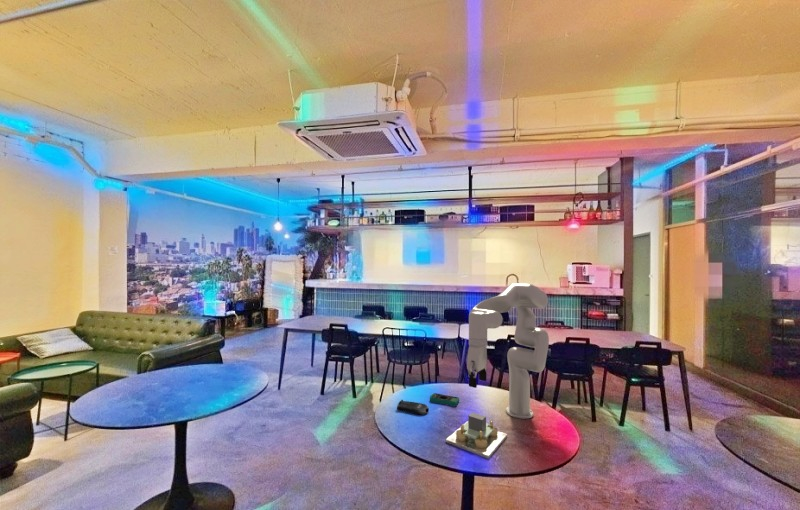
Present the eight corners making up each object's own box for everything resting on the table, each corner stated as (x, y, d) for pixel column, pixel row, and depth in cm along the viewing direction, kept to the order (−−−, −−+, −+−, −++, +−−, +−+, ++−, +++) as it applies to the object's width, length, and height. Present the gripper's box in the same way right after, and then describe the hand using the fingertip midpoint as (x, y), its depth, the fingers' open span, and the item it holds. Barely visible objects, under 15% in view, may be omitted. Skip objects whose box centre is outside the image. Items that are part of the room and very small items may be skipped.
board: (471, 420, 144) (471, 406, 144) (496, 427, 137) (496, 413, 137) (457, 432, 133) (457, 418, 133) (483, 442, 126) (483, 426, 126)
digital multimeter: (432, 397, 179) (432, 391, 179) (459, 402, 172) (459, 396, 173) (428, 402, 172) (428, 396, 172) (456, 407, 166) (456, 402, 166)
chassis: (467, 423, 148) (467, 408, 148) (507, 436, 137) (507, 420, 138) (445, 442, 132) (445, 425, 132) (488, 458, 121) (488, 440, 122)
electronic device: (396, 415, 159) (426, 416, 154) (395, 403, 160) (425, 403, 156) (402, 410, 168) (431, 410, 163) (401, 398, 169) (430, 398, 164)
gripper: (478, 337, 145) (477, 376, 145) (460, 344, 131) (459, 387, 131) (494, 339, 141) (494, 379, 140) (477, 347, 127) (477, 392, 126)
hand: (477, 383), depth 136 cm, fingers open, 9 cm apart
